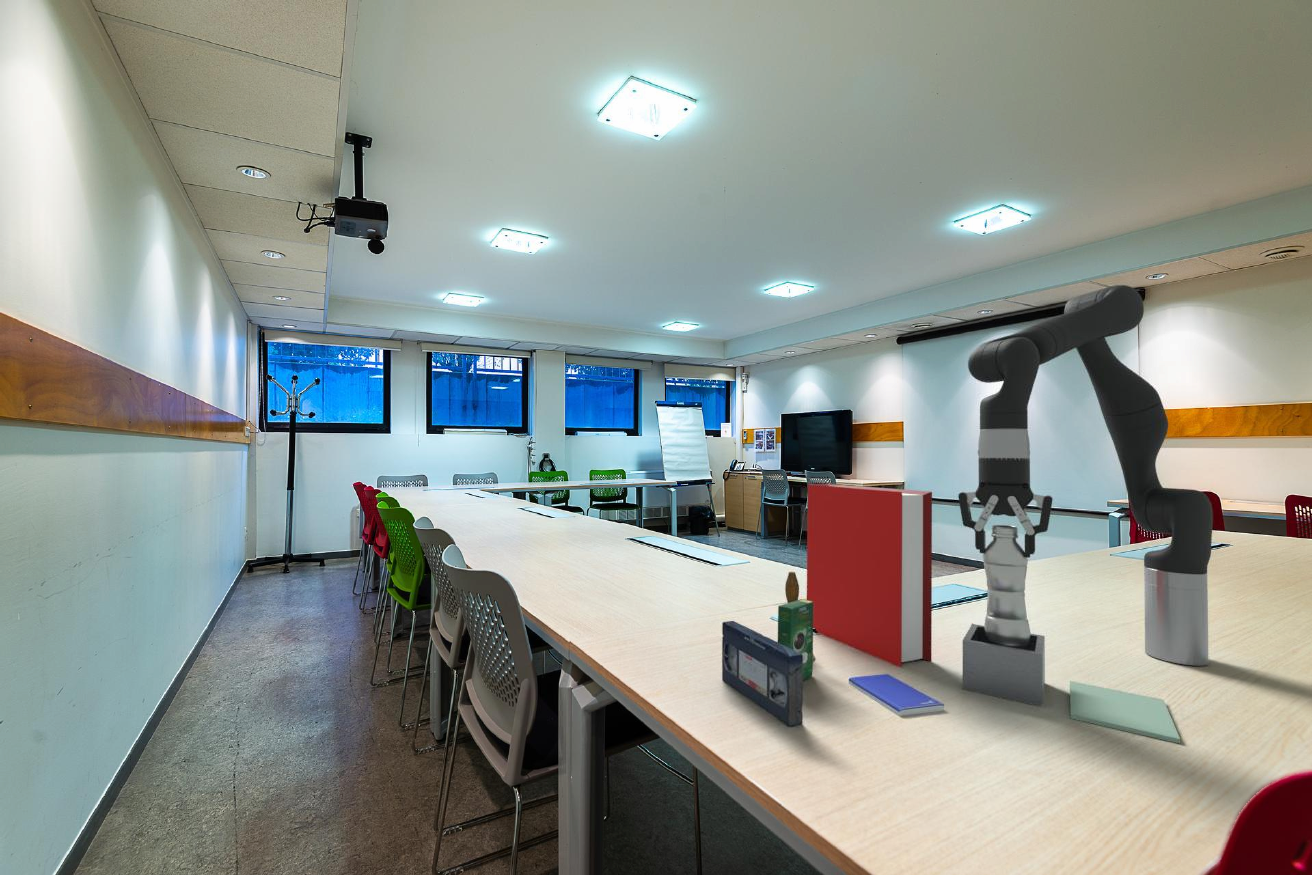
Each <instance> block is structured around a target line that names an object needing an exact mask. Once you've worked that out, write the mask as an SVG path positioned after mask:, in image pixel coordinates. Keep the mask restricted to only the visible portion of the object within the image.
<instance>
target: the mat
mask: <svg viewBox="0 0 1312 875" xmlns="http://www.w3.org/2000/svg"><path fill="white" fill-rule="evenodd" d="M1069 698H1070V699H1069V700H1070V702H1069V703H1070V706H1069V707H1070V719H1073V720H1077V721H1081V722H1085V723H1090V724H1094V725H1098V726H1102V727H1107V728H1111V729H1115V730H1120V731H1125V732H1128V733H1133V734H1137V735H1141V736H1146V737H1150V738H1155V739H1159V740H1163V741H1167V742H1172V743H1176V744H1181V738H1180V735H1179V733H1178V731H1177V729H1176V726H1175V724H1174V721H1173V718H1172V717H1171V715H1170V712H1169V709H1168V707H1167V704H1166V702H1165V700H1164V699H1162V698H1158V697H1153V696H1148V695H1143V694H1139V693H1138V694H1137V693H1133V692H1127V691H1122V690H1119V689H1118V690H1117V689H1113V688H1109V687H1102V686H1098V685H1093V684H1089V683H1088V684H1087V683H1083V682H1078V681H1072V680H1070V681H1069Z"/></svg>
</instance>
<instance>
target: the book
mask: <svg viewBox="0 0 1312 875" xmlns="http://www.w3.org/2000/svg"><path fill="white" fill-rule="evenodd" d="M806 519H807V520H806V521H807V525H806V526H807V528H806V529H807V532H806V533H807V534H806V536H807V537H806V543H807V544H806V545H807V546H806V550H807V551H806V600H809V601H813V602H814V603H813V628H815V629H816V631H817V632H816V633H818V634H819V635H820V634H821V635H823V636H825V637H828V638H829V639H832V640H834V641H837V642H839V643H841V644H844V645H846V646H849V647H851V648H854V649H856V650H858V651H860V652H863V653H865V654H867V655H870V656H872V657H875V658H877V659H880V660H882V661H884V662H887V663H889V664H892V665H894V666H896V667H898V668H902V663H905V662H911V661H915V660H920V659H923V660H926V661H928V662H932V622H933V621H932V617H933V616H932V615H933V612H932V611H933V609H932V607H933V605H932V602H933V600H932V599H933V598H932V597H933V596H932V595H933V594H932V592H933V591H932V590H933V589H932V588H933V586H932V584H933V583H932V581H933V579H932V575H933V574H932V571H933V563H932V562H933V560H932V559H933V558H932V557H933V549H932V547H933V538H932V537H933V533H932V532H933V491H926V490H916V489H915V490H913V489H901V488H900V489H899V488H886V487H874V486H873V487H872V486H861V485H846V484H833V483H832V484H831V483H826V484H825V483H821V484H819V483H816V484H815V483H814V484H812V483H811V484H807V517H806Z"/></svg>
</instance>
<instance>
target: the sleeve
mask: <svg viewBox="0 0 1312 875" xmlns="http://www.w3.org/2000/svg"><path fill="white" fill-rule="evenodd" d="M1045 641H1046V639H1045V635H1042V634H1035V633H1030V639H1029V642H1028V643H1027V644H1026V645H1025V646H1020V647H1014V646H1005V645H1000V644H997V643H994V642H992V641H990V640H989V639H988V637H987V636H986V633H985V628H984V625H981V624H974V623H971V625H970V626H969V628H968V630H967V632H966V634H965V636H964V637H963V639H962V690H966V691H970V692H975V693H978V694H983V695H988V696H992V697H997V698H1000V699H1006V700H1010V701H1013V702H1018V703H1024V704H1027V705H1032V706H1036V707H1040V708H1044V697H1045V696H1044V695H1045V685H1046V680H1045V679H1046V674H1045V673H1046V666H1045V665H1046V664H1045V662H1046V660H1045V659H1046V658H1045V657H1046V654H1045V653H1046V650H1045V649H1046V646H1045V645H1046V642H1045Z"/></svg>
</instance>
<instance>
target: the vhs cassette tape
mask: <svg viewBox="0 0 1312 875" xmlns="http://www.w3.org/2000/svg"><path fill="white" fill-rule="evenodd" d="M721 624H722V626H721V632H722V633H721V634H722V637H721V638H722V639H721V640H722V641H721V642H722V644H721V645H722V646H721V675H722V676H721V679H722V682H724V683H725V684H726V685H727V686H729V687H731V688H732V689H734V691H736V692H737V693H739V694H740V695H741V696H743V697H745V698H747V699H748V700H749V701H751V702H752V703H753V704H754V705H756V706H757V707H759V708H760V709H762V710H764V711H765V712H766V713H768V714H769V715H771V716H772V717H774V719H777V720H778V721H779V722H781V723H782V724H784V725H785V726H786V727H790V728H791V727H795V726H798V725H803V723H804V721H803V716H804V715H803V712H804V711H803V706H804V705H803V704H804V697H803V696H804V695H803V694H804V692H803V689H804V688H803V686H804V682H803V681H804V680H803V671H802V667H803V655H802V654H799V653H797V652H796V651H794V650H792V649H790V648H788V647H786V646H784V645H782V644H780V643H778V641H776V640H774V639H772V638H770V637H768V636H765V635H763V634H762V633H759V632H757V631H755V630H754V629H752V628H749V627H747V626H745V625H743V624H740V623H738V622H736V621H734V620H730V621H728V620H727V621H722V623H721Z"/></svg>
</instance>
